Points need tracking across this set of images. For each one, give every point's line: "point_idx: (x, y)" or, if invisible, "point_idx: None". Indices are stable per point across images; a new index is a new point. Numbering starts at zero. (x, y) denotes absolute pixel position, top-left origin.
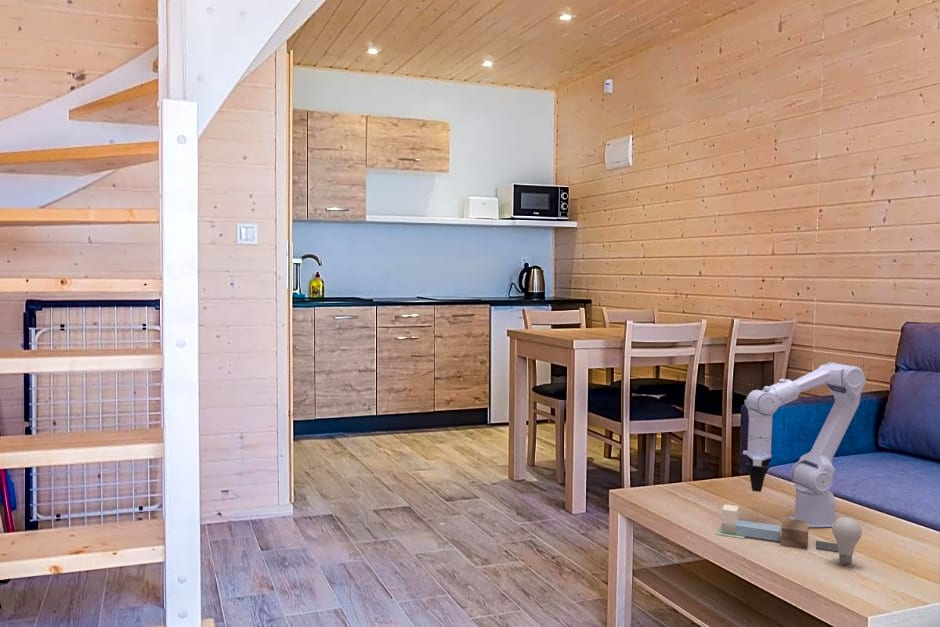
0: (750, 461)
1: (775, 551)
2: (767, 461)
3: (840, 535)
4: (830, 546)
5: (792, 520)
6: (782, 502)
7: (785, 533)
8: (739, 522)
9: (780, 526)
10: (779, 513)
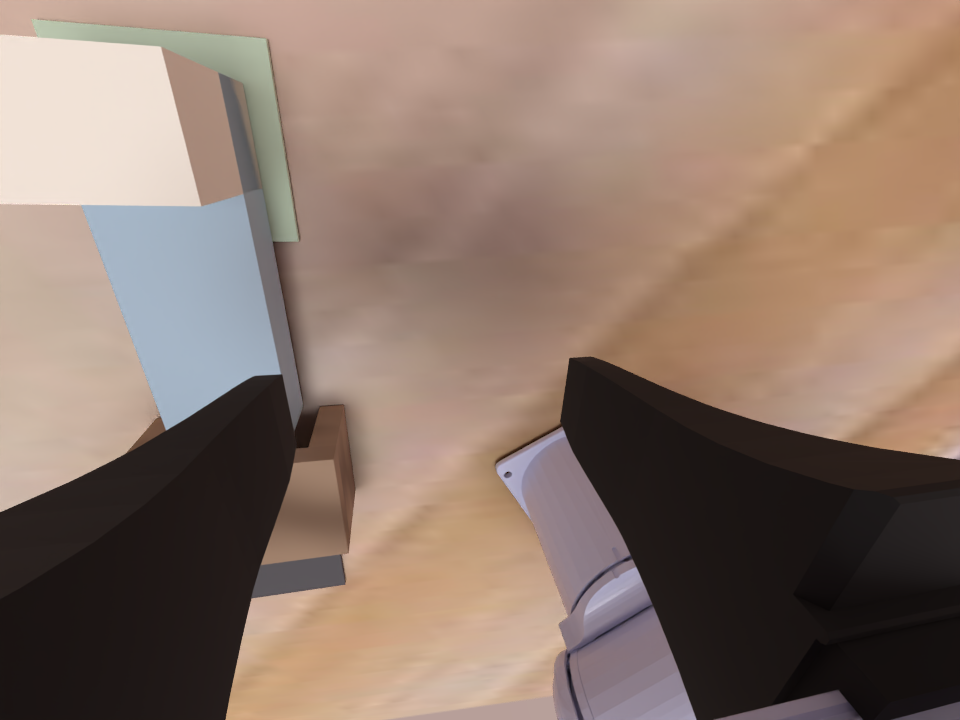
0: (773, 477)
1: (30, 407)
2: (707, 704)
3: None
4: (290, 562)
5: (313, 502)
6: (835, 360)
7: None
8: (181, 210)
9: None
10: (675, 364)
